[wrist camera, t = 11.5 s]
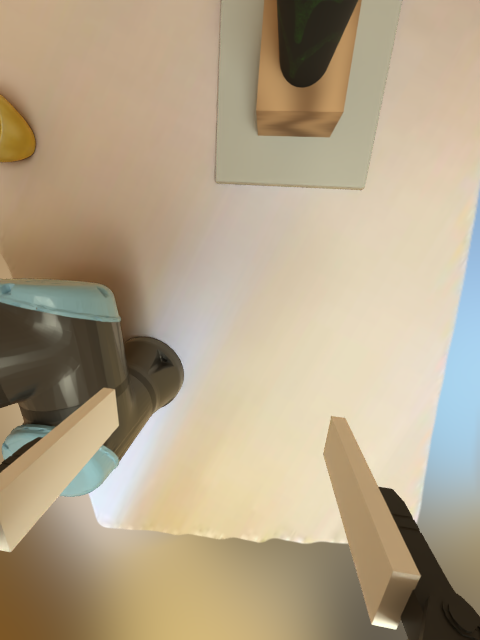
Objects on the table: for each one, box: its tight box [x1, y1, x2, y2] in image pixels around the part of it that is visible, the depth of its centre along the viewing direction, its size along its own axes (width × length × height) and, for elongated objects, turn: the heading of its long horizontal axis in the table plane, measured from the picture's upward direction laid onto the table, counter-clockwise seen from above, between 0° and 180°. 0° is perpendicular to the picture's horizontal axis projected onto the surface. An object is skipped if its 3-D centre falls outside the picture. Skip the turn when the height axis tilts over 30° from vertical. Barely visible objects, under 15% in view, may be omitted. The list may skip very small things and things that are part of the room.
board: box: [215, 0, 402, 190], centre depth 31 cm, size 22×22×1 cm
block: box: [256, 0, 362, 137], centre depth 28 cm, size 10×10×6 cm
